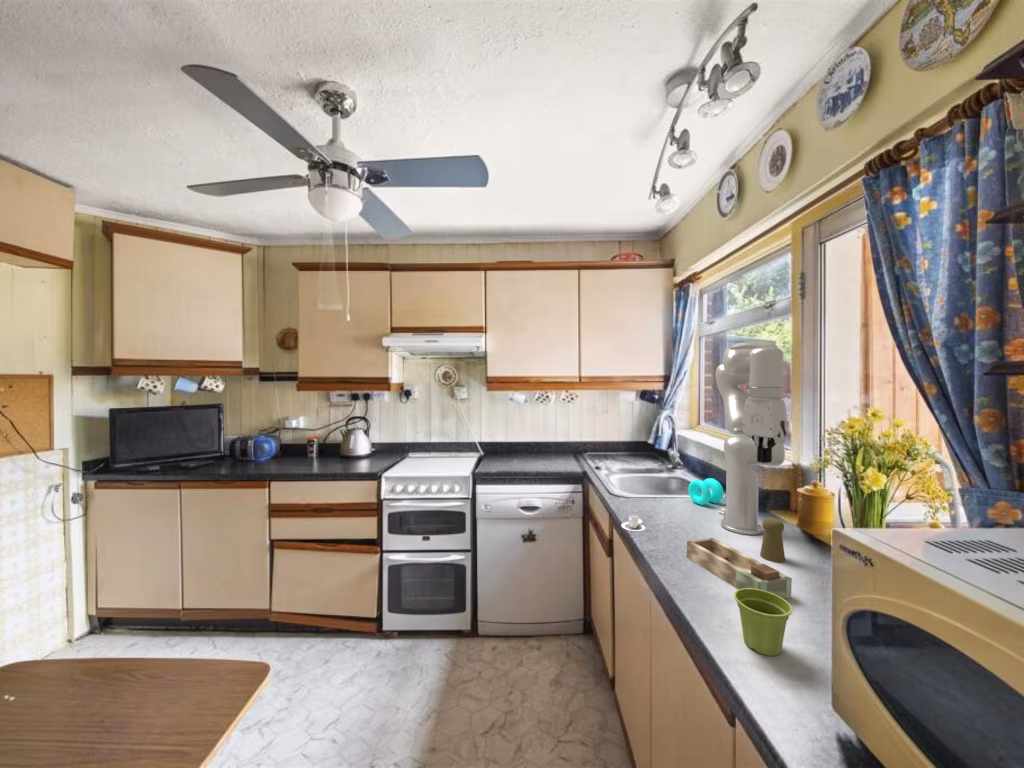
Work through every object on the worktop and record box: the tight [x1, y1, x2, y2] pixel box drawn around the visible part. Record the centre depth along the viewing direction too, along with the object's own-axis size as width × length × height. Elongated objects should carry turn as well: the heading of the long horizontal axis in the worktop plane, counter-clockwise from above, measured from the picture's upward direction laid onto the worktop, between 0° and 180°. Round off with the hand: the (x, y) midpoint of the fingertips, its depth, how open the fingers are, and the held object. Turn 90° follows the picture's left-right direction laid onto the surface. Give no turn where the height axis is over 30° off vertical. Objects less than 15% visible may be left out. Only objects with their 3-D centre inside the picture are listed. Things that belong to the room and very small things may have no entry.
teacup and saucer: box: [621, 514, 646, 532], centre depth 135 cm, size 9×8×4 cm
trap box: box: [686, 537, 793, 600], centre depth 102 cm, size 24×9×4 cm, turn 16°
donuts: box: [687, 477, 725, 506], centre depth 161 cm, size 10×10×10 cm
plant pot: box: [733, 588, 793, 657], centre depth 75 cm, size 9×9×9 cm
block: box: [751, 563, 780, 581], centre depth 94 cm, size 4×4×4 cm
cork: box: [759, 517, 786, 563], centre depth 112 cm, size 6×6×11 cm
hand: (764, 461), depth 106 cm, fingers closed
